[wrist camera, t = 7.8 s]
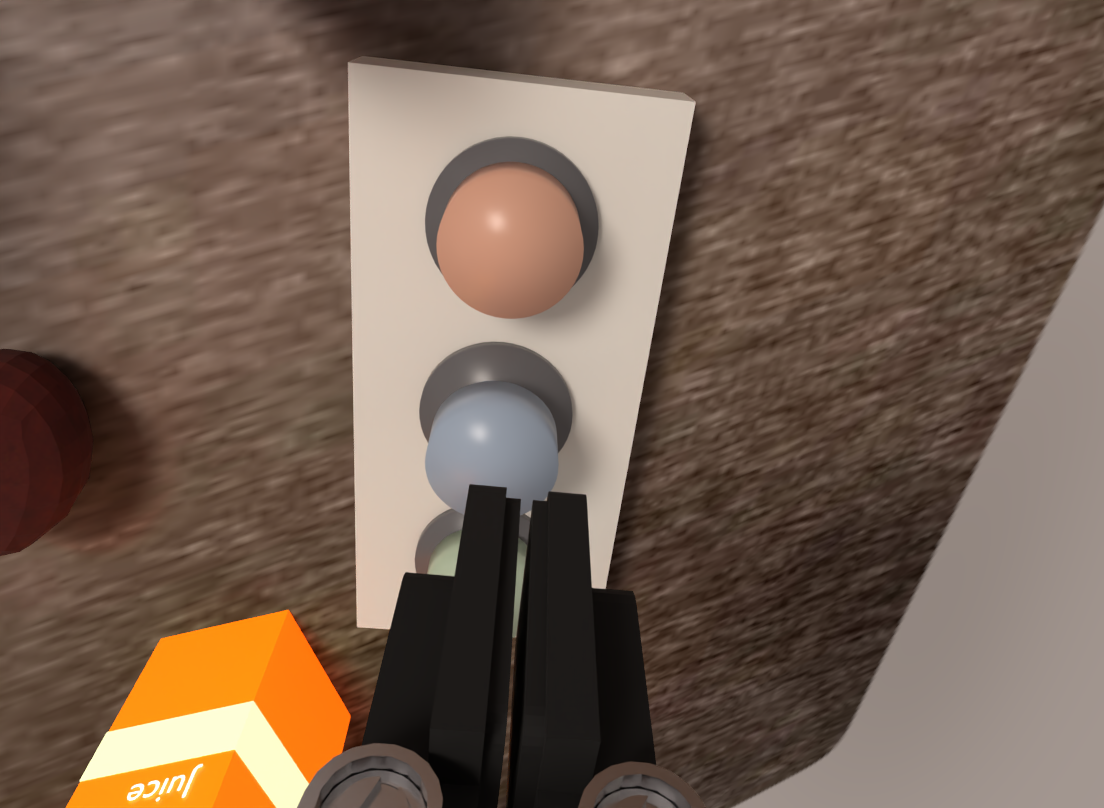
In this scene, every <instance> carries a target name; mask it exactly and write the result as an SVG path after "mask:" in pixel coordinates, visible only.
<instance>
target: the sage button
mask: <svg viewBox="0 0 1104 808" xmlns="http://www.w3.org/2000/svg"><path fill="white" fill-rule="evenodd" d="M461 532H462V530H459V531H457V532H455V533H452V534H451V535H449V536H447V537H446V538H444V539H443V540H442V541H441V542H440V543H439V544H438V545H437V546H436V548H435V549H434V551H433V553H432V555H431V557H430V561H429V566H428V572H427V574H433V575H445V576H455V569H456V563H457V557H458V551H459V545H460V539H461ZM526 551H527V545H526V544H525V543H524V542H523V541H522V540H521V539H520V538H519V539H518V555H517V571H516V587H515V603H514V618H513V634H512V638H513V637H515V636H516V634H517V626H518V618H519V609H520V601H521V593H522V584H523V576H524V568H525V559H526Z"/></svg>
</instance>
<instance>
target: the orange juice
mask: <svg viewBox="0 0 1104 808" xmlns="http://www.w3.org/2000/svg"><path fill="white" fill-rule="evenodd" d="M350 717H351V716H350V714H349V712H348V710H347V709H346V707H345V705H344V704H343V702H342V700H341V698H340V697H339V695H338V693H337V692H336V690H335V688H334V686H333V685H332V683H331V681H330V680H329V678H328V676H327V674H326V673H325V671H324V669H323V668H322V666H321V664H320V663H319V661H318V659H317V657H316V656H315V654H314V652H313V651H312V649H311V647H310V645H309V644H308V642H307V640H306V639H305V637H304V635H303V633H302V632H301V630H300V628H299V627H298V625H297V623H296V621H295V620H294V618H293V616H292V615H291V613H290V611H289V610H285V611H281V612H276V613H272V614H267V615H263V616H259V617H254V618H250V619H245V620H241V621H237V622H232V623H228V624H223V625H219V626H214V627H210V628H206V629H201V630H197V631H192V632H188V633H183V634H179V635H175V636H170V637H166V638H161V639H160V641H159V643H158V645H157V646H156V648H155V650H154V652H153V653H152V655H151V657H150V659H149V661H148V662H147V664H146V666H145V668H144V670H143V671H142V673H141V675H140V677H139V678H138V680H137V682H136V684H135V686H134V687H133V689H132V691H131V693H130V694H129V696H128V698H127V700H126V702H125V703H124V705H123V707H122V709H121V710H120V712H119V714H118V716H117V718H116V719H115V721H114V723H113V725H112V726H111V728H110V730H109V732H107V733H106V735H105V736H104V738H103V740H102V742H101V744H100V745H99V747H98V749H97V751H96V752H95V754H94V756H93V758H92V760H91V761H90V763H89V765H88V767H87V768H86V770H85V772H84V774H83V775H82V777H81V779H80V783H79V785H78V787H77V789H76V791H75V792H74V794H73V796H72V798H71V799H70V801H69V803H68V805H67V807H66V808H297V806H298V804H299V802H300V800H301V798H302V795H303V793H304V791H305V789H306V788H307V786H308V785H309V783H310V782H311V780H312V779H313V777H314V776H315V774H316V773H317V771H319V770H320V769H321V768H322V767H323V766H324V765H325V764H327V763H328V762H329V761H330V760H331V759H332V758H333V757H335V756H337V755H339V754H341V753H342V750H343V746H344V742H345V738H346V734H347V729H348V725H349V721H350Z"/></svg>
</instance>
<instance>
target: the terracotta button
mask: <svg viewBox="0 0 1104 808" xmlns="http://www.w3.org/2000/svg"><path fill="white" fill-rule="evenodd" d="M436 244H437V257H438V263H439V266H440V269H441V272H442V274H443V276H444V278H445V280H446V282H447V284H448V285H449V287H450V288H451V289H452V291H453V292H454V293H455V294H456V295H457V296H458V297H459V298H460V299H461V300H462V301H463V302H465V303H466V304H467V305H469V306H470V307H472V308H474V309H475V310H477V311H479V312H481V313H484V314H486V315H490V316H493V317H498V318H505V319H517V318H525V317H530V316H533V315H536V314H539V313H541V312H543V311H545V310H548V309H549V308H551V307H552V306H554V305H555V304H557V303H558V302H559V301H560V300H561V299H562V298H563V297H564V296H565V295H566V294H567V293H568V292H569V291H570V289H571V288H572V286H573V285H574V283H575V281H576V279H577V277H578V275H579V272H580V269H581V266H582V261H583V253H584V244H583V236H582V231H581V225H580V220H579V215H578V211H577V208H576V206H575V203H574V201H573V199H572V197H571V195H570V194H569V192H568V191H567V190H566V188H565V187H564V186H563V185H562V184H561V183H560V182H559V181H558V180H557V179H556V178H555V177H554V176H552V175H551V174H549V173H548V172H546V171H545V170H543V169H541V168H538V167H536V166H533V165H530V164H527V163H521V162H499V163H495V164H490V165H488V166H485V167H482V168H480V169H478V170H477V171H475V172H473V173H472V174H470V175H469V176H468V177H466V178H465V179H464V180H463V181H462V182H461V183H460V184H459V186H458V187H457V188H456V189H455V191H454V192H453V194H452V196H451V197H450V199H449V202H448V204H447V207H446V209H445V212H444V215H443V217H442V220H441V223H440V226H439V230H438V234H437V243H436Z"/></svg>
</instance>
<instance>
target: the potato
mask: <svg viewBox="0 0 1104 808" xmlns="http://www.w3.org/2000/svg"><path fill="white" fill-rule="evenodd" d="M92 449H93V436H92V431H91V427H90V422H89V418H88V415H87V412H86V409H85V407H84V405H83V402H82V400H81V398H80V396H79V394H78V391H77V390H76V389H75V387H74V386H73V385H72V383H71V382H70V380H69V379H68V378H67V376H65V375H64V374H63V373H62V372H61V371H60V370H59V369H58V368H57V367H56V366H55V365H53V364H52V363H51V362H50V361H48V360H46V359H44V358H42V357H40V356H38V355H36V354H34V353H32V352H25V351H18V350H11V349H0V556H2V555H7V554H11V553H16V552H20V551H22V550H23V549H25V548H26V547H28V546H29V545H31V544H33V543H34V542H35V541H37V540H38V539H39V538H40V537H42V536H43V535H44V534H45V533H46V532H48V531H49V530H50V529H51V528H53V527H54V526H55V525H56V524H57V523H59V522H60V521H61V520H62V519H64V518H65V517H66V516H67V515H68V513H69V511H70V509H71V507H72V506H73V504H74V502H75V501H76V499H77V497H78V495H79V494H80V492H81V490H82V489H83V487H84V485H85V484H86V482H87V480H88V479H89V475H90V469H91V461H92Z"/></svg>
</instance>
